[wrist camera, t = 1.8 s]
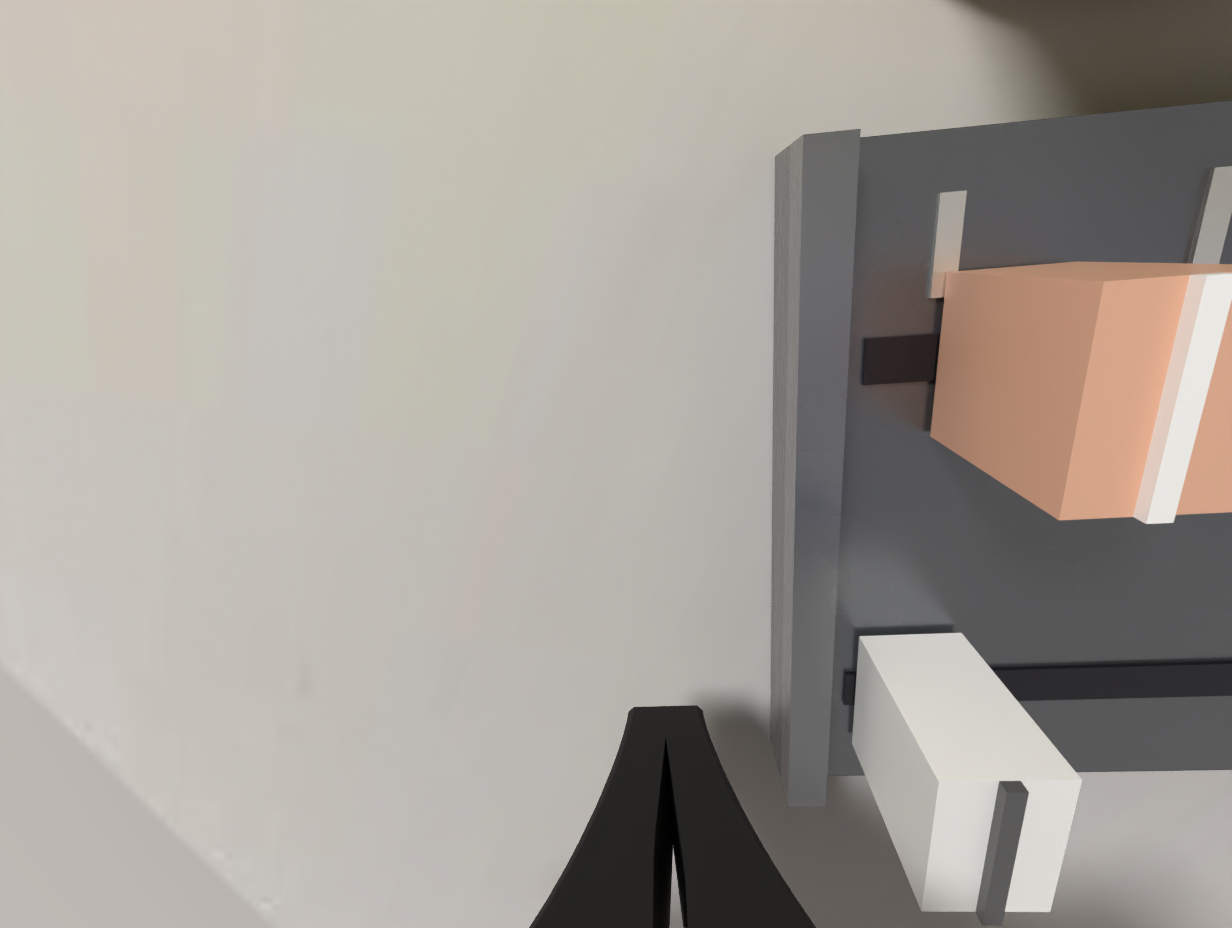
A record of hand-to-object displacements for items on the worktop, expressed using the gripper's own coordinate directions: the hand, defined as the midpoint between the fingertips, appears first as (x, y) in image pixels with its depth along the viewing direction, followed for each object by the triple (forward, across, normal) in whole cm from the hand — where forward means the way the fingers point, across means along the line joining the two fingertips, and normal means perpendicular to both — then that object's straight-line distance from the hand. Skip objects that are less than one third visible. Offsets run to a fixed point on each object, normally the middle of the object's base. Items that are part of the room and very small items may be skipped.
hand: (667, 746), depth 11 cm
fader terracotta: (+1, -6, -7) cm, 9 cm away
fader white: (+1, -5, 0) cm, 5 cm away
